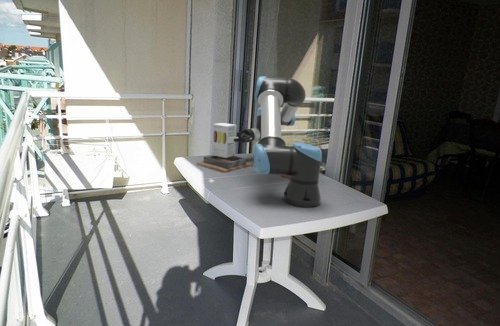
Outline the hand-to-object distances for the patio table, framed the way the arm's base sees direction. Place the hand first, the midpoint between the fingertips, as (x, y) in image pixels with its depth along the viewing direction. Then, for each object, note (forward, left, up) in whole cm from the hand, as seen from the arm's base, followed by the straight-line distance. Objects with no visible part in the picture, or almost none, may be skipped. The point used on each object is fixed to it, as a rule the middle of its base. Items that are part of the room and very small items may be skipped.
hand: (221, 138), depth 182 cm
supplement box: (+2, 0, -10) cm, 10 cm away
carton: (+16, -40, -16) cm, 45 cm away
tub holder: (+4, -1, -15) cm, 15 cm away
